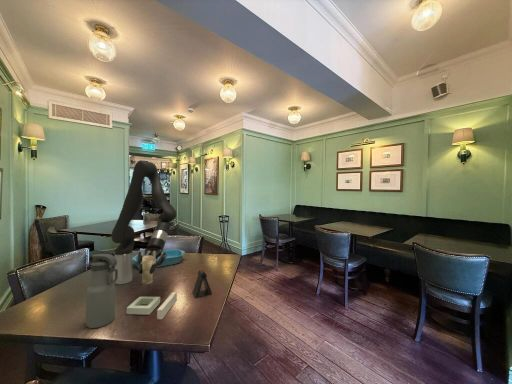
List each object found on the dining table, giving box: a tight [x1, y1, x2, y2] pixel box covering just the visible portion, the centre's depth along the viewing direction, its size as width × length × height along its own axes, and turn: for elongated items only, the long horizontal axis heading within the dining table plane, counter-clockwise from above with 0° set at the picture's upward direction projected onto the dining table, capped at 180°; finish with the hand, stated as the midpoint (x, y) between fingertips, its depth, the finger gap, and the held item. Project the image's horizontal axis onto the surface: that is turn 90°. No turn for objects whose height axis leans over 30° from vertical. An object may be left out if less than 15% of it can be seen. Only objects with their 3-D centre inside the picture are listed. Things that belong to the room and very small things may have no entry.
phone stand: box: [192, 269, 213, 299], centre depth 113 cm, size 9×6×12 cm, turn 121°
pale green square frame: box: [126, 296, 161, 316], centre depth 99 cm, size 10×10×3 cm
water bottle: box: [85, 253, 118, 329], centre depth 89 cm, size 10×10×28 cm
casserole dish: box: [132, 248, 186, 269], centre depth 161 cm, size 37×22×7 cm, turn 118°
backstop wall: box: [156, 291, 178, 320], centre depth 98 cm, size 2×16×4 cm, turn 179°
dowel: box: [141, 255, 154, 285], centre depth 100 cm, size 4×4×12 cm
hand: (145, 272), depth 98 cm, fingers closed on dowel, 4 cm apart
